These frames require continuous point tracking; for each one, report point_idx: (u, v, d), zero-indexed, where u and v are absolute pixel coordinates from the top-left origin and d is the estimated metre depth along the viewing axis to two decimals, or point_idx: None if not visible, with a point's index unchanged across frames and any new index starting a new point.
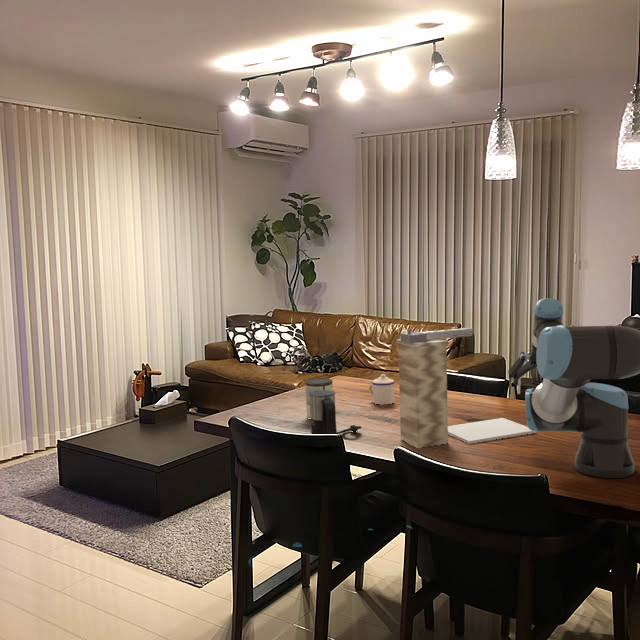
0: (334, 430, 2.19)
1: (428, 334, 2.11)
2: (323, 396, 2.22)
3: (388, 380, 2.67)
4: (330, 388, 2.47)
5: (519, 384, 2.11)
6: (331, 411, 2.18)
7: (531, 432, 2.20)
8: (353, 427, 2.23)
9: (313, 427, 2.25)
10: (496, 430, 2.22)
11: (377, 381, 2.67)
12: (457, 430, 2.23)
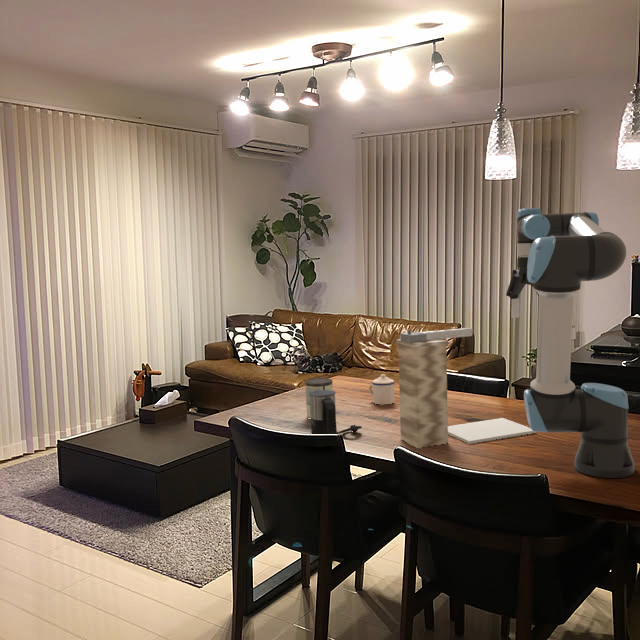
0: (334, 430, 2.19)
1: (428, 334, 2.11)
2: (323, 396, 2.22)
3: (388, 380, 2.67)
4: (330, 388, 2.47)
5: (512, 305, 2.28)
6: (331, 411, 2.18)
7: (531, 432, 2.20)
8: (353, 427, 2.23)
9: (313, 427, 2.25)
10: (496, 430, 2.22)
11: (377, 381, 2.67)
12: (457, 430, 2.23)
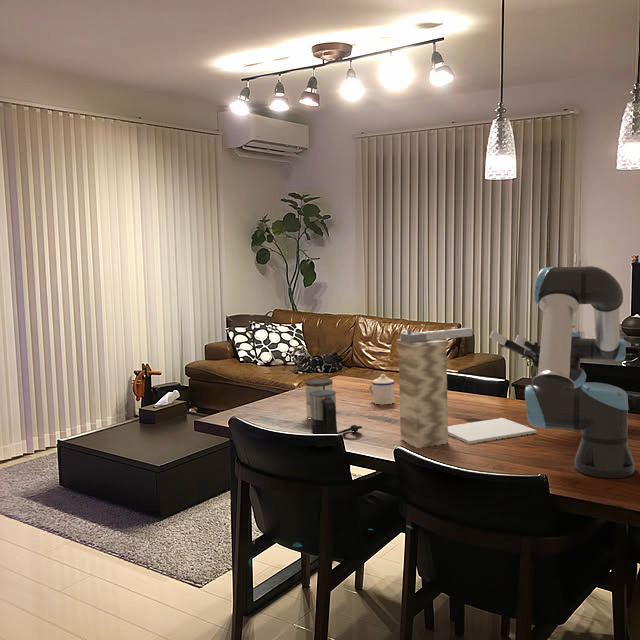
0: (334, 430, 2.19)
1: (428, 334, 2.11)
2: (323, 396, 2.22)
3: (388, 380, 2.67)
4: (330, 388, 2.47)
5: None
6: (331, 411, 2.18)
7: (531, 432, 2.20)
8: (353, 427, 2.23)
9: (314, 427, 2.25)
10: (496, 430, 2.22)
11: (377, 381, 2.67)
12: (457, 430, 2.23)
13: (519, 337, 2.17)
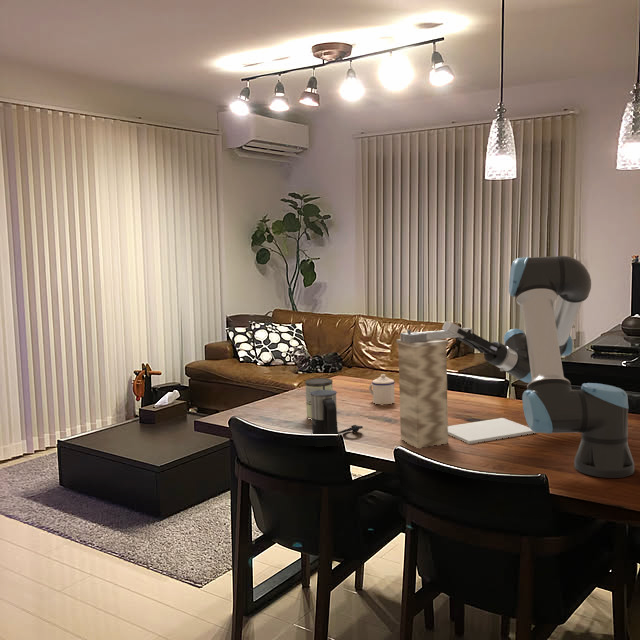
0: (335, 430, 2.20)
1: (428, 334, 2.11)
2: (324, 396, 2.22)
3: (388, 380, 2.67)
4: (330, 388, 2.47)
5: None
6: (332, 411, 2.18)
7: (531, 432, 2.20)
8: (354, 427, 2.24)
9: (314, 427, 2.25)
10: (496, 430, 2.22)
11: (377, 381, 2.67)
12: (457, 430, 2.23)
13: (452, 324, 2.13)
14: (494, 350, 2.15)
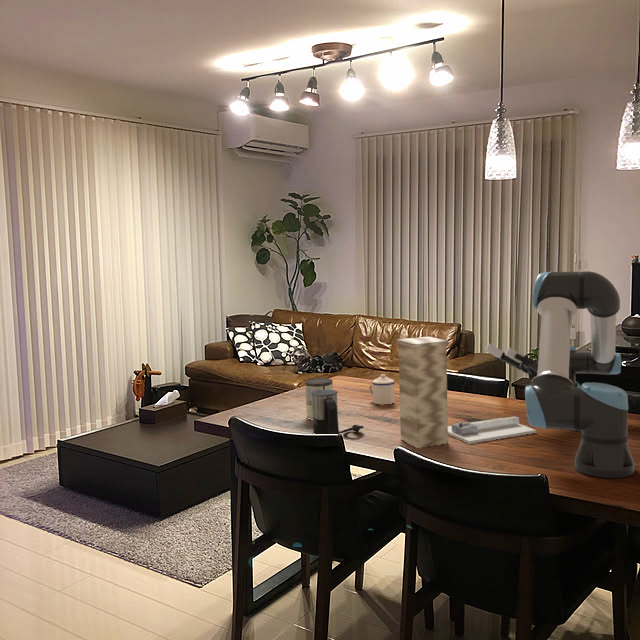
0: (336, 429, 2.20)
1: (478, 425, 2.21)
2: (325, 395, 2.23)
3: (388, 380, 2.67)
4: (330, 388, 2.47)
5: None
6: (332, 411, 2.19)
7: (531, 432, 2.20)
8: (355, 427, 2.24)
9: (315, 426, 2.26)
10: (496, 430, 2.22)
11: (377, 381, 2.67)
12: None
13: (510, 350, 2.18)
14: None
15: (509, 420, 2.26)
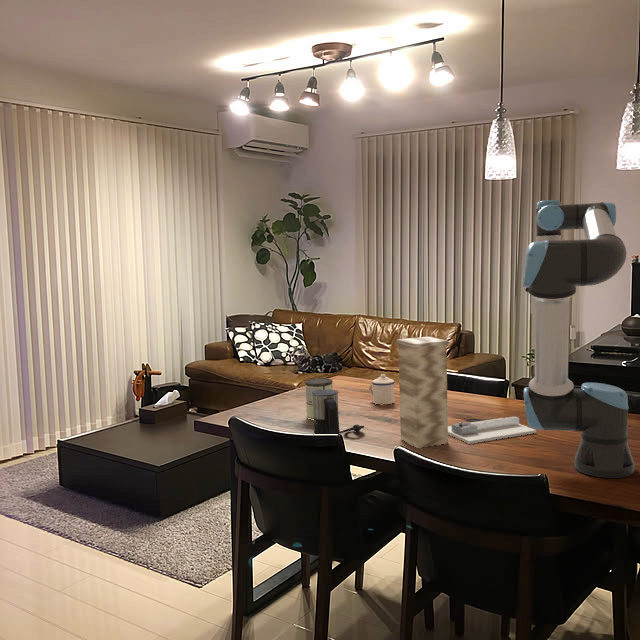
0: (336, 429, 2.20)
1: (478, 425, 2.21)
2: (325, 395, 2.23)
3: (388, 380, 2.67)
4: (330, 388, 2.47)
5: (531, 300, 2.22)
6: (333, 411, 2.19)
7: (531, 432, 2.20)
8: (355, 426, 2.24)
9: (316, 426, 2.26)
10: (496, 430, 2.22)
11: (377, 381, 2.67)
12: None
13: None
14: None
15: (509, 420, 2.26)
